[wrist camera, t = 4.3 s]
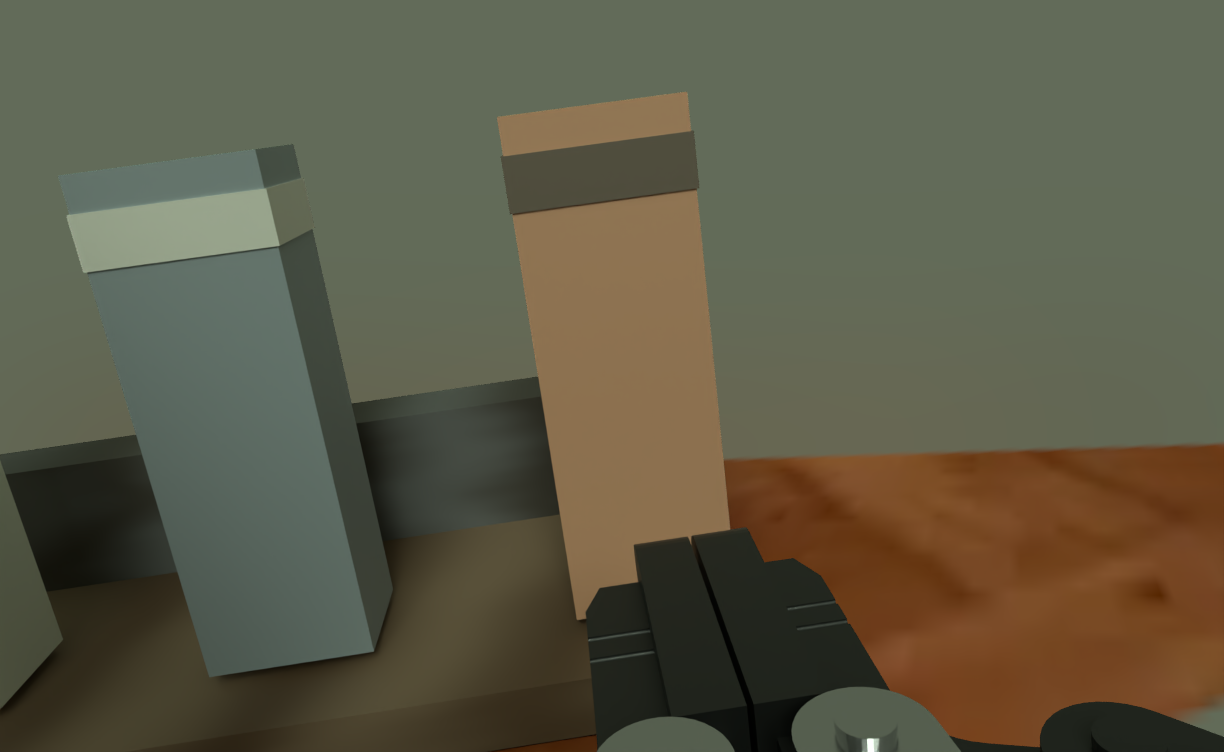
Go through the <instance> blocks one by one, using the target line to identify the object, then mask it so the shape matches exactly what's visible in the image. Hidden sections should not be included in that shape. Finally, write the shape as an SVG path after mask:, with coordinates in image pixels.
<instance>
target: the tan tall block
mask: <svg viewBox="0 0 1224 752" xmlns="http://www.w3.org/2000/svg"><path fill="white" fill-rule="evenodd" d="M497 120H498V126H499V132H500V138H501V145H502V151H503V155H502V156H501V161H502V167H503V173H504V180H505V185H506V192H507V198H508V204H509V210H510V214H513V221H514V226H515V233H516V239H517V246H518V252H519V258H520V265H521V271H522V277H523V284H524V290H525V296H526V302H527V309H528V315H529V321H530V327H531V334H532V340H533V347H534V353H535V359H536V365H537V372H538V378H539V384H540V391H541V397H542V403H543V410H544V416H545V422H546V429H547V435H548V441H549V447H550V454H551V460H552V466H553V473H554V479H555V485H556V492H557V498H558V504H559V511H560V517H561V523H562V529H563V536H564V542H565V548H566V555H567V561H568V567H569V574H570V580H571V586H572V592H573V599H574V605H575V611H576V618H577V620H581V619H586V613H585V612H586V610H587V609H588V607H589V605H590V604H591V602H592V600H593V598H594V597H595V595H596V593H597V592H598V590H599V588H602V587H609V586H616V585H622V584H629V583H635V582H638V578H637V571H636V563H635V555H634V544H640V543H647V542H653V541H660V540H667V539H673V538H680V537H688V538H689V540H690V543H691V536H692V535H699V534H705V533H712V532H718V531H725V530H730V522H729V512H728V502H727V492H726V481H725V471H724V461H723V451H722V442H721V431H720V421H719V411H718V401H717V390H716V380H715V370H714V360H713V349H712V340H711V329H710V320H709V309H708V299H707V288H706V278H705V268H704V258H703V248H702V238H701V227H700V218H699V207H698V197H697V188H699V180H698V169H697V159H696V149H695V139H694V131H691V126H690V116H689V106H688V95H687V92H681V93H674V94H666V95H659V96H652V97H644V98H636V99H628V100H621V101H614V102H607V103H598V104H591V105H584V106H576V107H569V108H561V109H553V110H546V111H538V112H531V113H523V114H516V115H508V116H501V117H497Z"/></svg>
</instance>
